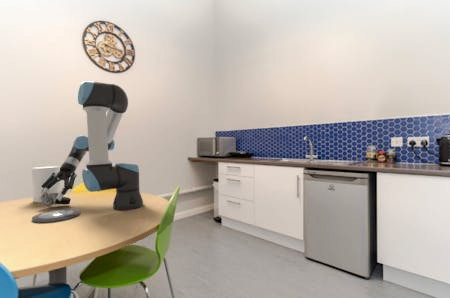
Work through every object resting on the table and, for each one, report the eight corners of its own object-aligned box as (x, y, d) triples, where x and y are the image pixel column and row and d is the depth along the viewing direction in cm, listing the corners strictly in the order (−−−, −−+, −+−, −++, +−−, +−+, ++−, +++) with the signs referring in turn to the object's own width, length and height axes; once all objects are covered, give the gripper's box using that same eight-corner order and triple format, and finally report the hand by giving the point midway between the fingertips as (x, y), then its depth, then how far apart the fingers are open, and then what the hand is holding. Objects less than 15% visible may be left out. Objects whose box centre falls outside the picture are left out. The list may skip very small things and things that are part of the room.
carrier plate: (88, 211, 130) (88, 208, 130) (60, 223, 111) (60, 220, 111) (54, 210, 132) (54, 208, 132) (20, 222, 114) (20, 219, 114)
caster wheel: (72, 207, 143) (56, 209, 134) (56, 202, 146) (39, 204, 137) (75, 195, 144) (59, 196, 134) (59, 191, 147) (43, 191, 137)
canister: (65, 197, 164) (64, 166, 164) (46, 202, 151) (44, 168, 150) (48, 196, 167) (46, 165, 167) (27, 201, 154) (26, 168, 154)
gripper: (90, 170, 152) (72, 203, 137) (55, 170, 155) (34, 203, 140) (84, 161, 147) (65, 195, 132) (48, 162, 150) (25, 195, 134)
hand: (49, 199), depth 136 cm, fingers closed on caster wheel, 10 cm apart
